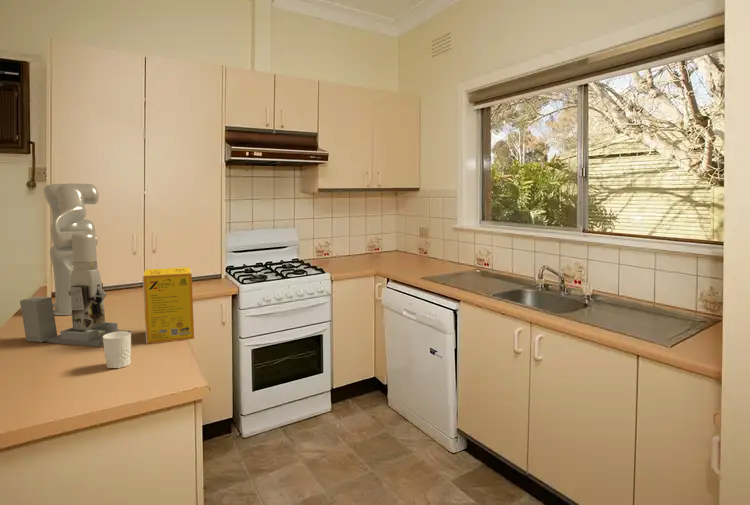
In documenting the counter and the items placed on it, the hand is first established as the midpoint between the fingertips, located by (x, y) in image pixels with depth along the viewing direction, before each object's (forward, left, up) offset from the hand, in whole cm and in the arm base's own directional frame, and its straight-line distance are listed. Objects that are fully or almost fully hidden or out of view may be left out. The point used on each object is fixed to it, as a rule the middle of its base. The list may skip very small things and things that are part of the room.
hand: (88, 313), depth 175 cm
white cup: (+31, -22, -10) cm, 39 cm away
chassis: (0, 0, -10) cm, 10 cm away
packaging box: (+27, +10, -10) cm, 30 cm away
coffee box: (0, 0, -5) cm, 5 cm away
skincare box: (-16, -6, -10) cm, 20 cm away
